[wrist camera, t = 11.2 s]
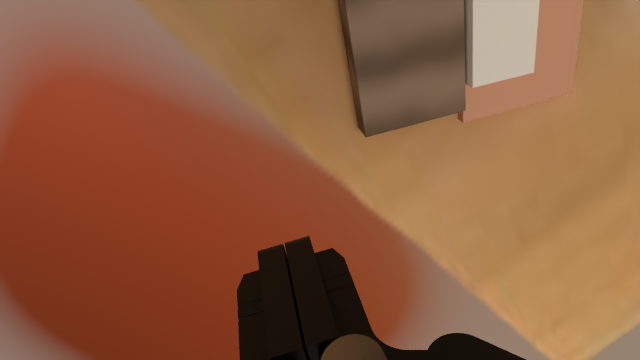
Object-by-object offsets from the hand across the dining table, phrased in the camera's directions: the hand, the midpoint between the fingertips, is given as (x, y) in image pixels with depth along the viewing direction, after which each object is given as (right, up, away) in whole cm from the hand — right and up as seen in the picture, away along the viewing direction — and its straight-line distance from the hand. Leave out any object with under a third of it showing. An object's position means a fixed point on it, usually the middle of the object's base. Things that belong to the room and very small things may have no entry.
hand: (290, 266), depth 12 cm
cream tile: (+16, +17, +26) cm, 35 cm away
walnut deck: (+8, +15, +27) cm, 32 cm away
